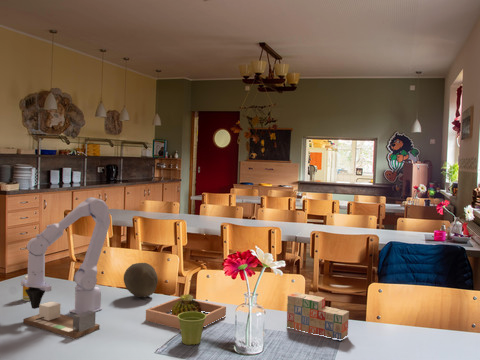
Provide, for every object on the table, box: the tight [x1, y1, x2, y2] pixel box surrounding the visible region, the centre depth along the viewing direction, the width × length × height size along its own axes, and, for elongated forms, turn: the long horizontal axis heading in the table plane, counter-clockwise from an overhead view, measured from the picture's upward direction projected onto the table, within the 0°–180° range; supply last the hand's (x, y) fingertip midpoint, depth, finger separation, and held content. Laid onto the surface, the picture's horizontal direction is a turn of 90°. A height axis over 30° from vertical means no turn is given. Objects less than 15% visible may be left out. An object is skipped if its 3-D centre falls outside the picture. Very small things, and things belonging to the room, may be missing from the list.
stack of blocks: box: [286, 291, 350, 339], centre depth 167 cm, size 21×6×12 cm, turn 55°
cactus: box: [170, 293, 202, 316], centre depth 176 cm, size 17×16×10 cm
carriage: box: [36, 301, 61, 321], centre depth 167 cm, size 8×5×5 cm, turn 150°
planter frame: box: [145, 296, 227, 330], centre depth 178 cm, size 21×22×4 cm
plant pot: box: [177, 312, 206, 346], centre depth 154 cm, size 9×9×9 cm
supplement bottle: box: [22, 275, 30, 302], centre depth 195 cm, size 5×5×10 cm
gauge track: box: [22, 310, 100, 339], centre depth 165 cm, size 11×26×6 cm, turn 60°
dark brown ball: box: [123, 262, 159, 298], centre depth 203 cm, size 14×14×15 cm
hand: (35, 307), depth 172 cm, fingers closed
